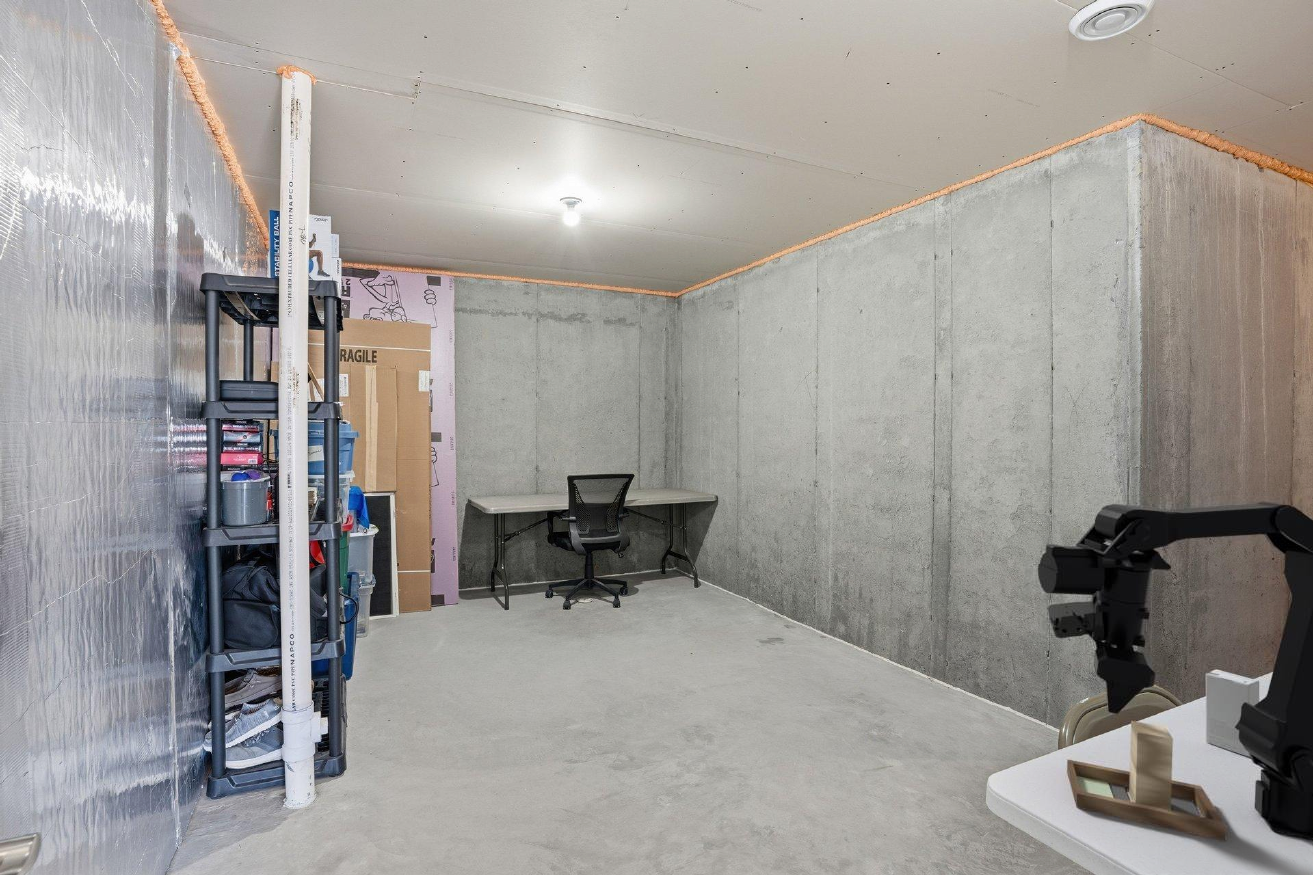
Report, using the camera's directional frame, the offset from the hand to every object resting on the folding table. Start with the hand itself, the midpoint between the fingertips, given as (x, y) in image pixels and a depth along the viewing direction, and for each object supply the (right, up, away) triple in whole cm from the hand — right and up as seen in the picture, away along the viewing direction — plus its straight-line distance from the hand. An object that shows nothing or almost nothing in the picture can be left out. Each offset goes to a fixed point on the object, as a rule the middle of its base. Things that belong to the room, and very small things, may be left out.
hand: (1108, 694), depth 95 cm
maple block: (+5, -15, -2) cm, 16 cm away
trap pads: (+5, -15, -2) cm, 16 cm away
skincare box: (+31, -15, +16) cm, 38 cm away
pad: (-1, -15, +1) cm, 15 cm away
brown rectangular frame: (+4, -15, -1) cm, 16 cm away
